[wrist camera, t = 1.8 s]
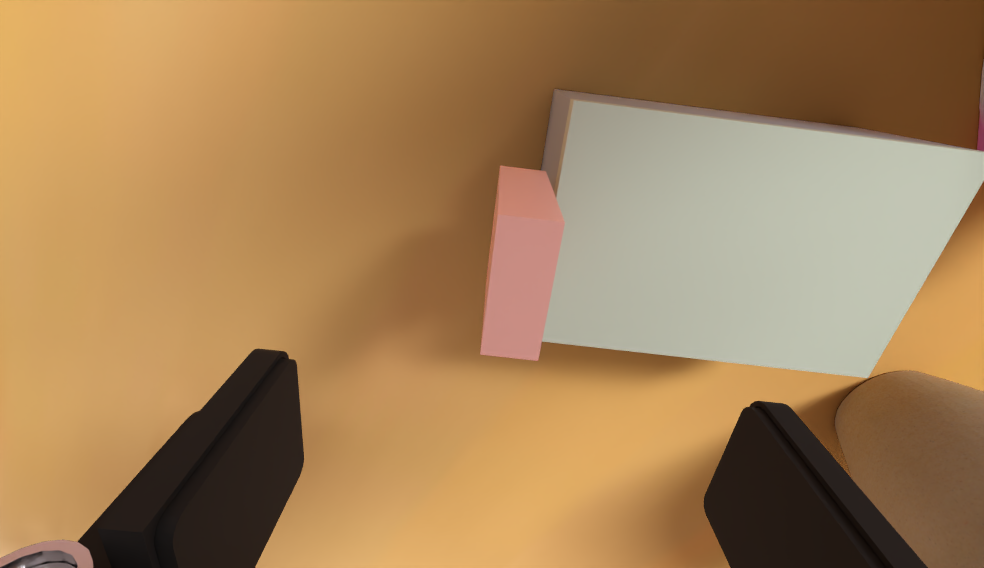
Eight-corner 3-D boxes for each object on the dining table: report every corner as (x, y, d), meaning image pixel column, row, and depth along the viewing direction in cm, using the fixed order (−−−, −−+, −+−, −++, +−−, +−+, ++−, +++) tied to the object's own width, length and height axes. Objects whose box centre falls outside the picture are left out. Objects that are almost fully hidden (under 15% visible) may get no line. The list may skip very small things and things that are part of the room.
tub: (553, 88, 25) (570, 98, 19) (859, 127, 25) (976, 150, 19) (524, 272, 30) (529, 329, 23) (781, 302, 30) (854, 366, 24)
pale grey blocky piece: (509, 89, 19) (511, 106, 12) (958, 146, 20) (1208, 193, 13) (481, 315, 24) (472, 421, 17) (843, 356, 25) (979, 475, 18)
